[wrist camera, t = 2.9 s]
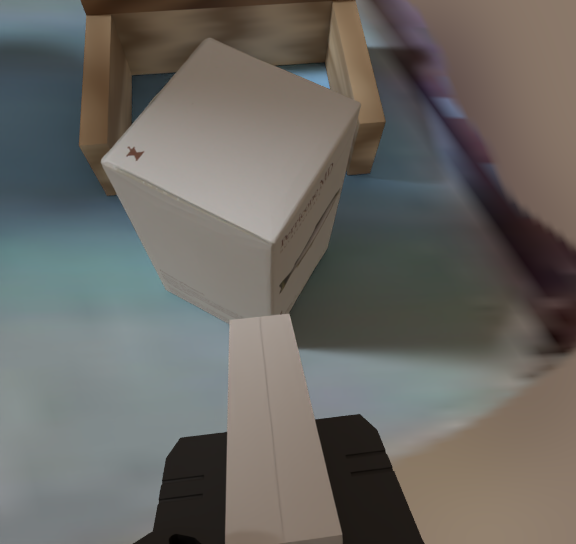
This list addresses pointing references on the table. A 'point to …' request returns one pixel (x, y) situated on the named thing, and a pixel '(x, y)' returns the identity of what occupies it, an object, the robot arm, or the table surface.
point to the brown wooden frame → (228, 30)
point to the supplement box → (235, 180)
